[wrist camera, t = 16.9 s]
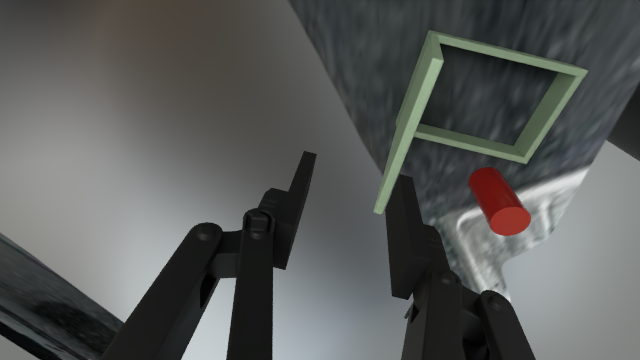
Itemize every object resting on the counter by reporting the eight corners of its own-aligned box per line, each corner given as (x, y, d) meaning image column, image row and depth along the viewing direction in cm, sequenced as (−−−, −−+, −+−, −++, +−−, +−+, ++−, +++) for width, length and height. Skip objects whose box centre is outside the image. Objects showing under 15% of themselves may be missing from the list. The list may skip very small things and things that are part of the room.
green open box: (567, 62, 42) (588, 70, 38) (513, 149, 50) (526, 164, 46) (427, 28, 42) (434, 33, 38) (394, 120, 50) (397, 132, 46)
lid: (444, 60, 21) (432, 57, 21) (381, 215, 28) (373, 212, 28) (438, 34, 38) (431, 32, 38) (400, 134, 45) (394, 133, 45)
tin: (505, 168, 52) (538, 212, 42) (490, 193, 55) (518, 239, 44) (475, 161, 52) (501, 203, 42) (461, 186, 55) (483, 230, 44)
